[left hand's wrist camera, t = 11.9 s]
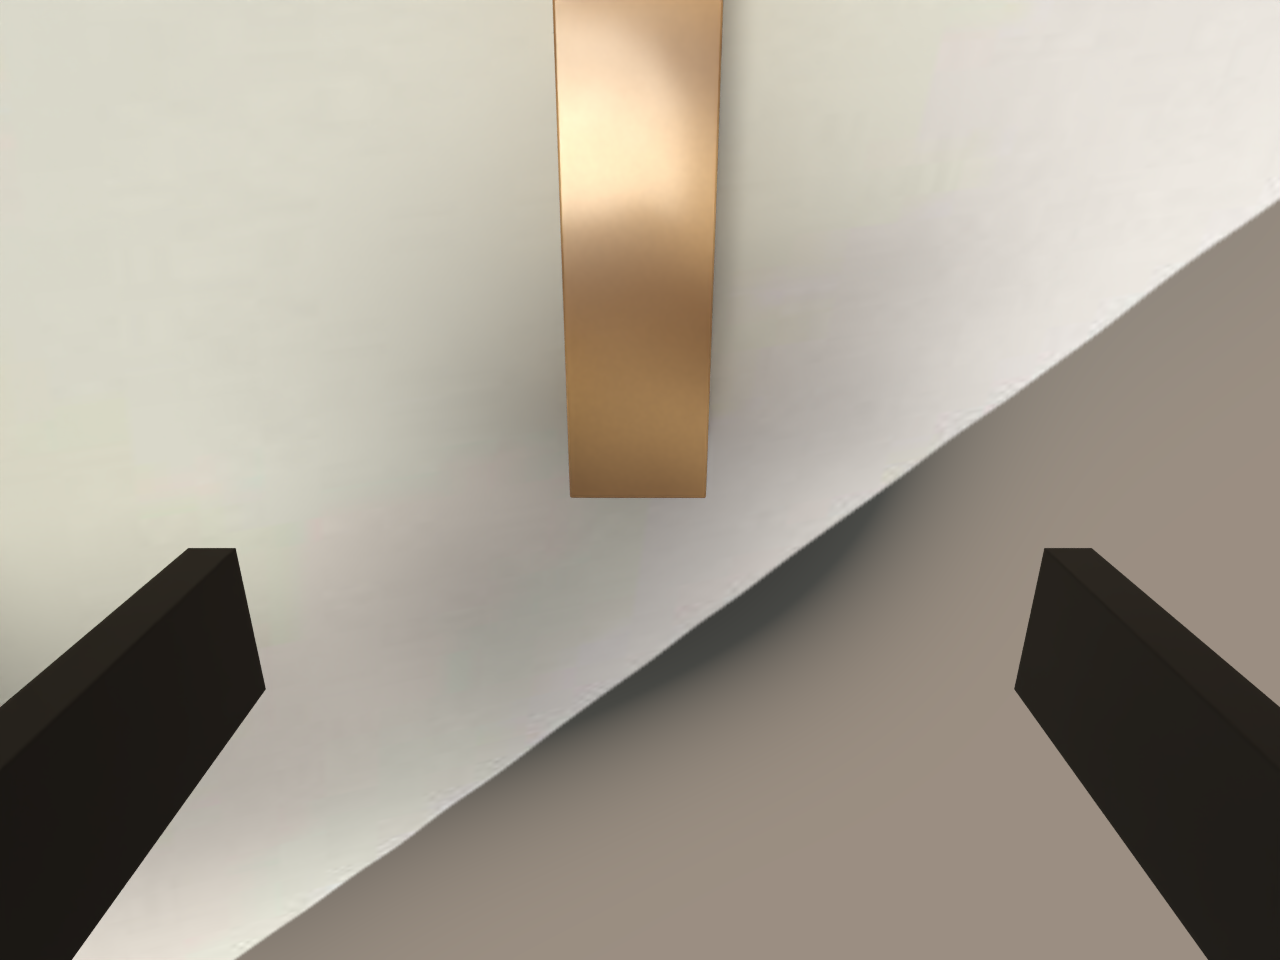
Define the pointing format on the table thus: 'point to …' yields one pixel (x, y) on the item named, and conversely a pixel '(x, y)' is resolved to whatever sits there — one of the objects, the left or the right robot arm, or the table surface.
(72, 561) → the table surface
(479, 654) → the table surface
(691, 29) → the bar
